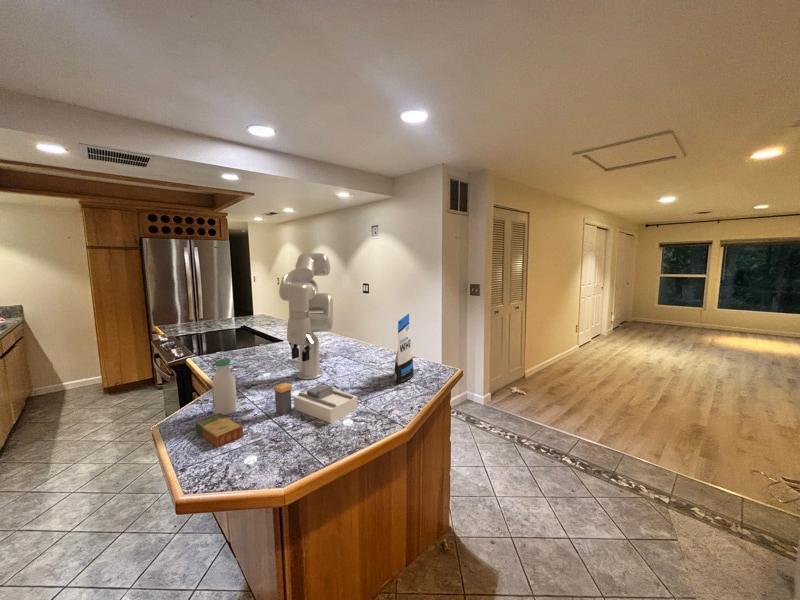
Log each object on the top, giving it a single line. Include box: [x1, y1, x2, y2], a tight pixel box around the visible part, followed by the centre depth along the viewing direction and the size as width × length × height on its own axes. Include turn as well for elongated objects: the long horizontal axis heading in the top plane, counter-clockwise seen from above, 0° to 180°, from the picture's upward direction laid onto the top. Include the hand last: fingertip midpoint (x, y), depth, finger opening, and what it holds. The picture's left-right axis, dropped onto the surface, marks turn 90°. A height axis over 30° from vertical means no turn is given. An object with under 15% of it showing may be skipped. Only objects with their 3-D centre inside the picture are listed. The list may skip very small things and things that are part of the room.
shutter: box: [306, 384, 334, 399], centre depth 128 cm, size 7×7×3 cm
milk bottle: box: [211, 358, 238, 416], centre depth 124 cm, size 8×8×20 cm
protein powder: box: [393, 313, 415, 386], centre depth 161 cm, size 10×24×30 cm, turn 167°
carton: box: [194, 413, 244, 449], centre depth 108 cm, size 8×16×4 cm, turn 53°
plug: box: [273, 382, 293, 417], centre depth 123 cm, size 5×5×10 cm
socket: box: [293, 384, 358, 424], centre depth 127 cm, size 20×14×6 cm
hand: (300, 358), depth 133 cm, fingers open, 5 cm apart
